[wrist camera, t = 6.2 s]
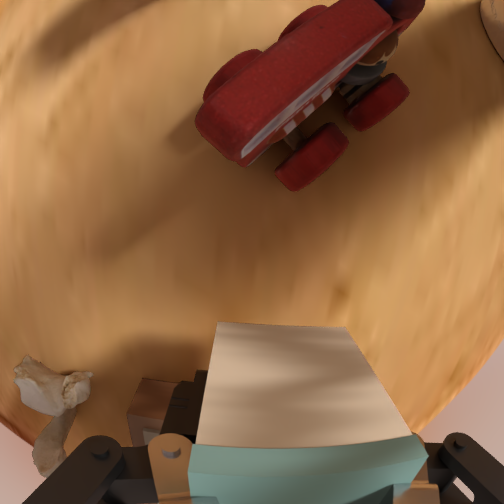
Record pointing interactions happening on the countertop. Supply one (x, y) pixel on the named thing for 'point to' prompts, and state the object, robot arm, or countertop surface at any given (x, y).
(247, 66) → the toy fire truck
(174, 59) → the countertop surface
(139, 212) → the countertop surface
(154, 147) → the countertop surface
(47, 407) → the bone
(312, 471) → the maple block
